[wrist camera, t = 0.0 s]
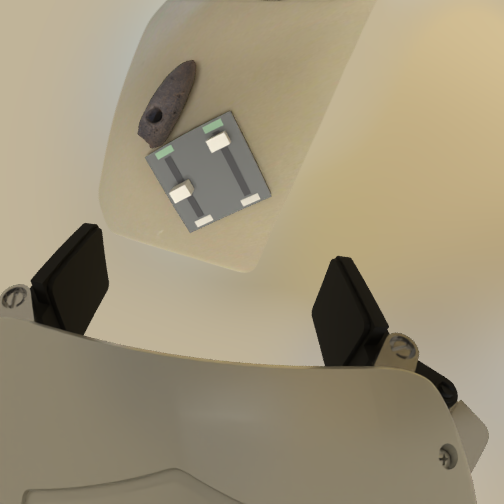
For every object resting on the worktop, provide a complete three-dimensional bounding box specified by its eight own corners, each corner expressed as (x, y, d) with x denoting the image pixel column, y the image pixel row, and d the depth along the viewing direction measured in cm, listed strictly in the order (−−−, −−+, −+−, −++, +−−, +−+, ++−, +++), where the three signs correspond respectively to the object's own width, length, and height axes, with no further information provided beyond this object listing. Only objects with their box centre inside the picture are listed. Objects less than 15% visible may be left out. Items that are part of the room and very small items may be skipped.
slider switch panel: (148, 155, 43) (144, 157, 41) (230, 110, 40) (230, 111, 38) (191, 228, 50) (189, 233, 49) (270, 192, 47) (271, 196, 46)
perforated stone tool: (184, 57, 34) (173, 50, 29) (211, 69, 36) (205, 64, 30) (141, 133, 41) (126, 138, 35) (167, 145, 42) (154, 153, 36)
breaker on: (208, 138, 40) (205, 141, 37) (225, 130, 39) (223, 132, 36) (213, 149, 41) (211, 153, 38) (230, 141, 40) (229, 144, 37)
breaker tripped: (173, 187, 44) (168, 193, 41) (188, 178, 43) (184, 184, 40) (179, 196, 45) (175, 203, 42) (194, 189, 44) (191, 195, 41)
